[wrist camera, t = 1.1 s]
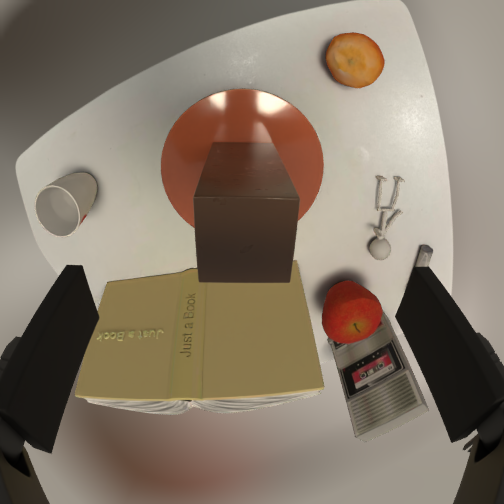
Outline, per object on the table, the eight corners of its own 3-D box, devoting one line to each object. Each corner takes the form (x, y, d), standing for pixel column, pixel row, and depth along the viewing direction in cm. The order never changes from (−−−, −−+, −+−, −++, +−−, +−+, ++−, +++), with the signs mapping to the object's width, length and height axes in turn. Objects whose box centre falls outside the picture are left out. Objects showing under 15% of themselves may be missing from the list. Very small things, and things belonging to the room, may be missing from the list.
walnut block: (212, 142, 24) (192, 196, 14) (273, 143, 24) (300, 198, 14) (213, 197, 27) (198, 283, 17) (270, 198, 27) (290, 283, 17)
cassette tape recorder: (379, 305, 62) (423, 401, 41) (389, 319, 65) (430, 410, 44) (326, 337, 67) (352, 436, 45) (339, 349, 69) (365, 442, 48)
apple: (342, 256, 55) (363, 299, 45) (377, 282, 59) (399, 324, 48) (302, 295, 59) (314, 341, 49) (338, 316, 63) (353, 360, 53)
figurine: (419, 185, 42) (404, 269, 49) (401, 175, 48) (390, 252, 55) (385, 184, 42) (373, 271, 49) (370, 174, 48) (361, 254, 55)
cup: (74, 212, 48) (47, 241, 39) (58, 170, 43) (27, 193, 35) (111, 202, 47) (87, 231, 39) (96, 157, 43) (67, 178, 35)
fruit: (392, 77, 37) (389, 86, 32) (344, 85, 41) (332, 95, 36) (376, 28, 33) (370, 26, 28) (327, 38, 37) (312, 40, 32)
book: (297, 255, 54) (325, 384, 36) (297, 286, 59) (320, 405, 41) (105, 277, 55) (70, 392, 37) (120, 303, 60) (95, 411, 42)
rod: (413, 290, 61) (419, 298, 58) (403, 291, 61) (408, 299, 58) (429, 243, 54) (436, 251, 52) (418, 244, 54) (425, 251, 52)
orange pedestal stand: (192, 84, 38) (157, 91, 22) (291, 86, 39) (331, 95, 22) (193, 175, 46) (167, 242, 29) (285, 176, 47) (313, 243, 30)
